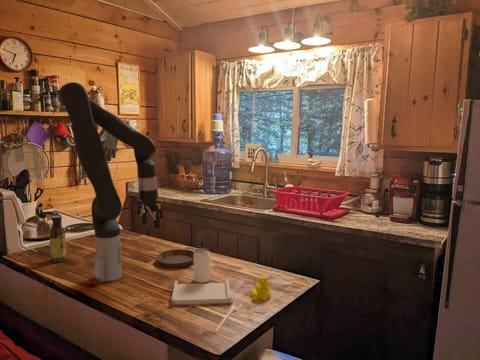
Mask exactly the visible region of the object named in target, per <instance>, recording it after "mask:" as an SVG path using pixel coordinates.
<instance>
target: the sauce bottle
mask: <svg viewBox="0 0 480 360" xmlns="http://www.w3.org/2000/svg"><path fill="white" fill-rule="evenodd" d="M62 219H63V216H62V215H52V216H51V222H52V224H51V226H52V228H51V229H50V230H49V251H50V253H49V254H50V260H51V262H52V263H60V262H63V261H66V259H67V246H66V244H67V242H66V231H65V229H64V227H63V224H62Z"/></svg>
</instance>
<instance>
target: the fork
mask: <svg viewBox="0 0 480 360" xmlns="http://www.w3.org/2000/svg"><path fill="white" fill-rule="evenodd" d="M243 301H244V298H242V299H241V298H239V297H236V298H235V300H234V301H233V303H232V305H231V307H230V308H229V311H228V313H227V314H226V315H225V316H224V318H223V319H222V321H221V322H220V324H218V326H217V327H216V328H215V329H214V331H215V332H218V331H219V329H220V328H221V327H222V326H223V325H224V324H225V323H226V322H227V320H228V319H229V318H230V317H231V316H232V314H233V313H234V312H235V311H236V312H237V311H239V309H236V308H240V309H241V308H242V305H243V303H244V302H243Z"/></svg>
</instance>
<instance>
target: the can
mask: <svg viewBox="0 0 480 360" xmlns="http://www.w3.org/2000/svg"><path fill="white" fill-rule="evenodd" d="M193 252H194V262H193V280H194V281H195V282H196V283H197V282H198V283H197V284H207V283H208V282H210V280H211V253H210V249H209V248H206V247H199V248H195V249H194V251H193Z"/></svg>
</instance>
